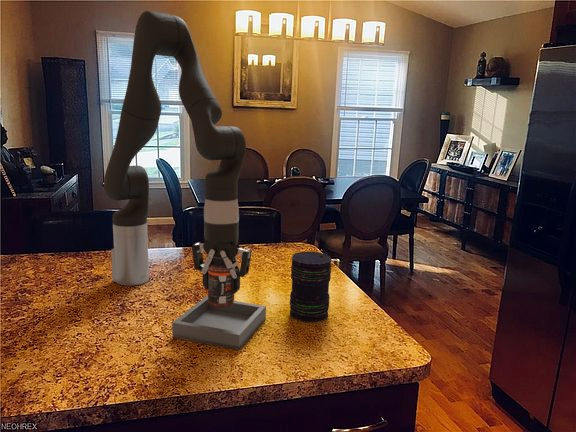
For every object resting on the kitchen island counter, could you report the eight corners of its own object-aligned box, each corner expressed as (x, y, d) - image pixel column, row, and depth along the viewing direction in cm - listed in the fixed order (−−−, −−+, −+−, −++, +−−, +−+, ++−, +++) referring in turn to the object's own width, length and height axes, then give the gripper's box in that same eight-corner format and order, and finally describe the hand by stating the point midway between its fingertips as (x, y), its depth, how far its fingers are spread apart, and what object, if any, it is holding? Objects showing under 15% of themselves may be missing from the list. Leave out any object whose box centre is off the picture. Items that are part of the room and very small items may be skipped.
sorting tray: (172, 337, 103) (172, 322, 103) (206, 309, 118) (206, 296, 117) (239, 350, 99) (239, 335, 98) (265, 319, 114) (265, 306, 113)
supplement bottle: (229, 309, 104) (229, 260, 101) (204, 306, 105) (203, 258, 102) (237, 299, 109) (238, 253, 107) (213, 296, 111) (213, 250, 108)
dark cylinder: (301, 325, 111) (303, 265, 108) (282, 309, 119) (284, 254, 116) (336, 318, 116) (339, 261, 112) (315, 303, 124) (318, 249, 121)
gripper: (183, 218, 101) (184, 291, 105) (245, 225, 97) (244, 301, 101) (200, 212, 108) (200, 280, 112) (258, 218, 104) (256, 289, 108)
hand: (221, 290), depth 106 cm, fingers closed on supplement bottle, 6 cm apart
